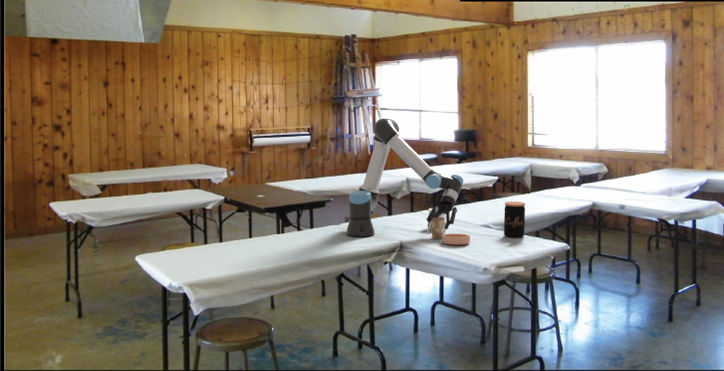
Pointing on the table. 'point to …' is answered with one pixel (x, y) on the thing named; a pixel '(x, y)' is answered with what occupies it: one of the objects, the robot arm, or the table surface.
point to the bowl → (455, 239)
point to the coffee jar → (514, 219)
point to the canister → (437, 228)
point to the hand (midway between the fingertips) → (435, 232)
